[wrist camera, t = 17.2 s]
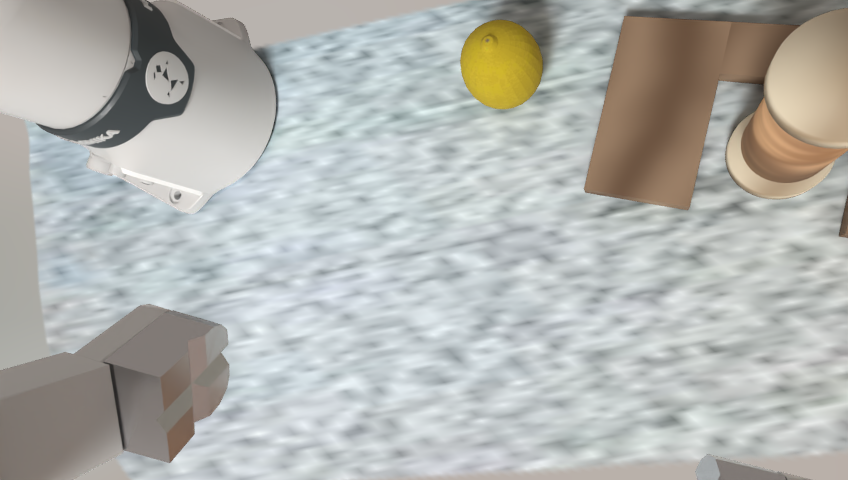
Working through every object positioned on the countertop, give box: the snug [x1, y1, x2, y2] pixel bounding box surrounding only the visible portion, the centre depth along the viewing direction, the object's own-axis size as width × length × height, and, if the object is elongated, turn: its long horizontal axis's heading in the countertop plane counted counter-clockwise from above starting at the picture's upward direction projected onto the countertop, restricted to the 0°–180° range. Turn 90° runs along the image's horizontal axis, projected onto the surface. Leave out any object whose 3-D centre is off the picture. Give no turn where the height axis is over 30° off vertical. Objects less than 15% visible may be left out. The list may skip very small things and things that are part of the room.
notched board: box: [584, 16, 848, 238], centre depth 35 cm, size 20×12×1 cm, turn 76°
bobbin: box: [725, 8, 848, 199], centre depth 29 cm, size 6×6×13 cm
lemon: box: [460, 20, 543, 109], centre depth 38 cm, size 6×6×8 cm
